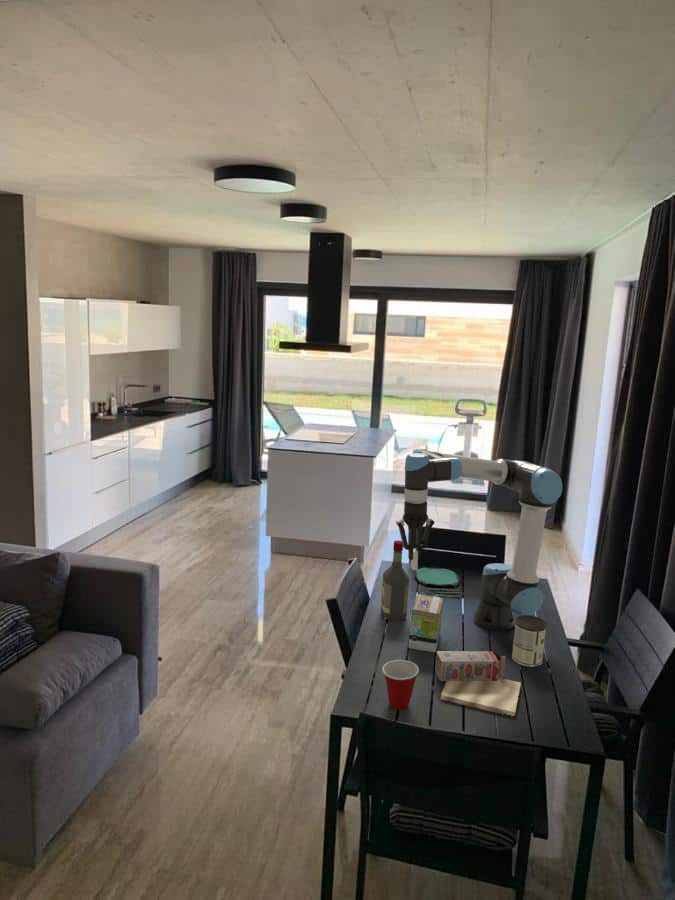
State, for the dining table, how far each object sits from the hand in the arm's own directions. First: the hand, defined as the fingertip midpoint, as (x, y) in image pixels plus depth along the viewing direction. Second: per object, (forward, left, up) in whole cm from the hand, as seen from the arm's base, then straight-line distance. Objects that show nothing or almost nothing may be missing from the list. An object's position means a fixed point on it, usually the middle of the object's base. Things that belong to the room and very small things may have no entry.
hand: (414, 568), depth 224 cm
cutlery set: (-31, -61, -32) cm, 75 cm away
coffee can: (-41, +7, -32) cm, 52 cm away
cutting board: (-17, +26, -31) cm, 44 cm away
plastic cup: (+11, +30, -31) cm, 45 cm away
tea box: (-9, -9, -32) cm, 34 cm away
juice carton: (-5, +17, -26) cm, 32 cm away
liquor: (-3, -30, -32) cm, 44 cm away
